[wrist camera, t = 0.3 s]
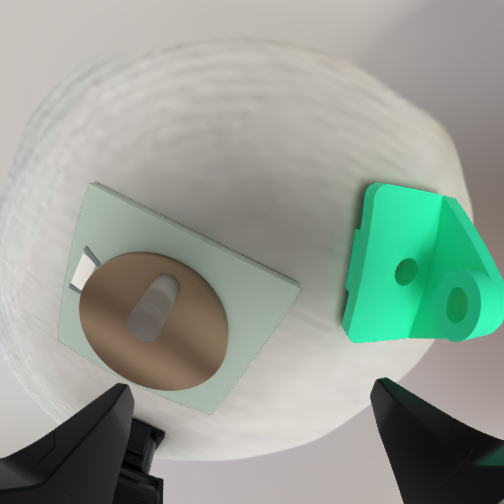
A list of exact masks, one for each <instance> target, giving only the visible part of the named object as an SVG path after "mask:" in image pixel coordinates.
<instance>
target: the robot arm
mask: <svg viewBox="0 0 504 504" xmlns="http://www.w3.org/2000/svg"><path fill="white" fill-rule="evenodd" d="M370 399H371V403H372V407H373V411H374V415H375V419H376V423H377V427H378V431H379V433H380V436H381V439H382V442H383V444H384V447H385V450H386V452H387V455H388V458H389V461H390V464H391V467H392V470H393V472H394V475H395V478H396V481H397V484H398V487H399V490H400V493H401V496H402V499H403V503H404V504H504V440H501V439H498V438H495V437H493V436H490V435H487V434H485V433H483V432H481V431H478V430H476V429H474V428H472V427H470V426H468V425H466V424H464V423H462V422H460V421H458V420H456V419H455V418H452V417H451V416H450V415H448V414H446V413H445V412H443V411H441V410H439V409H437V408H436V407H434V406H432V405H431V404H429V403H427V402H426V401H424V400H423V399H421V398H419V397H418V396H416V395H414V394H413V393H411V392H409V391H408V390H406V389H405V388H403V387H401V386H400V385H398V384H397V383H395V382H393V381H392V380H390V379H389V378H386V377H384V378H380V379H377V380H376V381H375V383H374V386H373V389H372V391H371V394H370ZM133 409H134V398H133V395H132V393H131V390H130V388H129V386H128V385H127V384H121V383H117V384H115V385H114V386H113V387H111V388H110V389H109V390H107V391H106V392H105V393H103V394H102V395H101V396H99V397H98V398H97V399H95V400H94V401H93V402H91V403H90V404H88V405H87V406H86V407H84V408H83V409H82V410H80V411H79V412H77V413H76V414H75V415H73V416H72V417H71V418H69V419H68V420H66V421H65V422H64V423H62V424H61V425H59V426H58V427H57V428H55V429H54V430H52V431H51V432H49V433H48V434H47V435H45V436H44V437H42V438H41V439H39V440H37V441H36V442H34V443H32V444H31V445H29V446H27V447H25V448H23V449H21V450H19V451H17V452H15V453H13V454H11V455H9V456H7V457H4V458H0V504H163V479H161V478H156V477H154V476H151V475H149V471H150V467H151V463H152V459H153V455H154V452H155V450H156V449H157V447H158V446H159V444H160V443H161V441H162V440H163V438H164V437H165V433H164V432H162V431H160V430H157V429H155V428H152V427H150V426H147V425H145V424H143V423H140V422H138V421H136V420H133V419H132V415H133Z"/></svg>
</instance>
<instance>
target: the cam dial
mask: <svg viewBox="0 0 504 504" xmlns="http://www.w3.org/2000/svg"><path fill="white" fill-rule="evenodd" d="M79 316H80V322H81V326H82V329H83V332H84V334H85V337H86V339H87V341H88V342H89V344H90V346H91V347H92V349H93V350H94V352H95V353H96V354H97V356H98V357H99V358H100V359H101V360H102V361H103V362H104V363H105V364H106V365H107V366H108V367H109V368H110V369H112V370H113V371H114V372H115V373H117V374H118V375H120V376H121V377H123V378H125V379H127V380H129V381H131V382H133V383H135V384H137V385H140V386H143V387H146V388H150V389H155V390H162V391H178V390H185V389H189V388H193V387H196V386H198V385H200V384H202V383H204V382H205V381H207V380H208V379H210V378H211V377H212V376H213V375H214V374H215V373H216V372H217V371H218V369H219V368H220V367H221V365H222V363H223V361H224V358H225V355H226V352H227V345H228V321H227V316H226V312H225V309H224V307H223V305H222V303H221V300H220V298H219V297H218V295H217V294H216V292H215V291H214V289H213V288H212V287H211V286H210V285H209V283H208V282H207V281H206V280H205V279H204V278H203V277H202V276H201V275H199V274H198V273H197V272H196V271H194V270H193V269H192V268H190V267H189V266H187V265H185V264H184V263H182V262H180V261H178V260H176V259H173V258H171V257H169V256H165V255H162V254H158V253H152V252H130V253H125V254H122V255H119V256H116V257H114V258H112V259H110V260H109V261H107V262H106V263H104V264H103V265H102V266H101V267H99V268H98V269H97V270H96V271H95V272H94V273H93V274H92V275H91V276H90V277H89V278H88V280H87V281H86V283H85V285H84V287H83V289H82V292H81V296H80V301H79Z"/></svg>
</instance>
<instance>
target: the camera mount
mask: <svg viewBox="0 0 504 504" xmlns="http://www.w3.org/2000/svg"><path fill="white" fill-rule="evenodd" d="M401 261H402V264H401V266H400V268H399V269H398V270H397V271H396V268H397V266H398V265H399V263H400V262H401ZM395 271H396V272H395ZM345 288H346V289H347V290H348V292H349V295H348V300H347V304H346V309H345V313H344V317H343V321H342V327H343V329H344V331H345V332H346V334H347V336H348V338H349V339H350V341H352V342H354V343H362V342H374V341H385V340H395V339H404V338H434V339H437V338H438V339H444V338H445V339H448V340H450V341H453V342H459V341H463V340H467V339H472V338H476V337H480V336H484V335H487V334H490V333H492V332H494V331H495V330H496V329H497V328H498V327H499V326H500V324H501V323H502V321H503V319H504V282H503V280H502V277H501V275H500V273H499V271H498V269H497V267H496V265H495V263H494V261H493V259H492V257H491V255H490V253H489V251H488V250H487V248H486V246H485V244H484V242H483V241H482V239H481V237H480V235H479V234H478V232H477V230H476V229H475V227H474V225H473V224H472V222H471V221H470V219H469V217H468V216H467V214H466V213H465V211H464V210H463V208H462V207H461V205H460V204H459V202H458V201H457V200H456V198H452V197H448V196H443V195H439V194H435V193H430V192H426V191H421V190H416V189H411V188H406V187H401V186H396V185H390V184H384V183H373V184H371V185H370V186H369V187H368V188H367V190H366V192H365V197H364V206H363V214H362V221H361V228H360V229H355V234H354V240H353V247H352V253H351V259H350V264H349V270H348V275H347V281H346V286H345Z"/></svg>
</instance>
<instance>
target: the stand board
mask: <svg viewBox="0 0 504 504" xmlns="http://www.w3.org/2000/svg"><path fill="white" fill-rule="evenodd" d="M130 252H152V253H158V254H162V255H165V256H169V257H171V258H173V259H176V260H178V261H180V262H182V263H184V264H185V265H187V266H189V267H190V268H192V269H193V270H194V271H196V272H197V273H198V274H199V275H201V276H202V277H203V278H204V279H205V280H206V281H207V282H208V283H209V285H210V286H211V287H212V288H213V289H214V291H215V292H216V294H217V295H218V297H219V298H220V300H221V303H222V305H223V307H224V309H225V312H226V316H227V321H228V345H227V352H226V355H225V358H224V361H223V363H222V365H221V367H220V368H219V369H218V371H217V372H216V373H215V374H214V375H213V376H212V377H211V378H210V379H208V380H207V381H205V382H204V383H202V384H200V385H198V386H196V387H193V388H189V389H185V390H178V391H162V390H155V389H150V388H146V387H143V386H140V385H137V384H135V383H133V382H131V381H129V380H127V379H125V378H123V377H121V376H120V375H118V374H117V373H115V372H114V371H113V370H112V369H110V368H109V367H108V366H107V365H106V364H105V363H104V362H103V361H102V360H101V359H100V358H99V357H98V356H97V354H96V353H95V352H94V350H93V349H92V347H91V346H90V344H89V342H88V341H87V339H86V337H85V334H84V332H83V329H82V326H81V322H80V316H79V301H80V296H81V292H82V289H83V287H84V285H85V283H86V281H87V280H88V278H89V277H90V276H91V275H92V274H93V273H94V272H95V271H96V270H97V269H98V268H99V267H101V266H102V265H103V264H104V263H106V262H107V261H109V260H110V259H112V258H114V257H116V256H119V255H122V254H125V253H130ZM300 290H301V287H300V285H299V283H297V282H295V281H293V280H291V279H289V278H287V277H285V276H283V275H281V274H279V273H277V272H274V271H272V270H270V269H268V268H266V267H264V266H262V265H260V264H258V263H256V262H254V261H252V260H250V259H248V258H246V257H244V256H242V255H240V254H238V253H236V252H234V251H232V250H230V249H228V248H226V247H224V246H222V245H220V244H218V243H216V242H214V241H212V240H210V239H208V238H206V237H204V236H202V235H200V234H198V233H196V232H194V231H192V230H190V229H188V228H186V227H184V226H182V225H180V224H178V223H176V222H174V221H172V220H170V219H168V218H166V217H164V216H162V215H160V214H158V213H156V212H154V211H152V210H150V209H148V208H146V207H144V206H142V205H140V204H138V203H136V202H134V201H132V200H130V199H128V198H126V197H124V196H122V195H120V194H118V193H116V192H114V191H112V190H110V189H108V188H106V187H104V186H102V185H101V184H99V183H97V182H95V183H90V184H89V187H88V190H87V193H86V196H85V199H84V202H83V206H82V209H81V212H80V216H79V219H78V223H77V227H76V230H75V234H74V238H73V243H72V247H71V251H70V256H69V261H68V266H67V271H66V276H65V282H64V288H63V295H62V302H61V310H60V319H59V330H58V341H59V342H61V343H62V344H64V345H65V346H67V347H68V348H70V349H71V350H73V351H74V352H76V353H78V354H79V355H81V356H83V357H84V358H86V359H88V360H89V361H91V362H93V363H94V364H96V365H98V366H100V367H102V368H103V369H105V370H107V371H109V372H111V373H113V374H115V375H116V376H118V377H120V378H122V379H124V380H126V381H128V382H130V383H132V384H134V385H137V386H139V387H141V388H143V389H145V390H147V391H150V392H152V393H154V394H156V395H159V396H161V397H163V398H166V399H168V400H171V401H173V402H176V403H178V404H181V405H184V406H186V407H189V408H192V409H194V410H197V411H200V412H203V413H206V414H209V415H212V414H213V413H214V411H215V410H216V409H217V408H218V406H219V405H220V404H221V402H222V401H223V400H224V399H225V397H226V396H227V395H228V393H229V392H230V391H231V389H232V388H233V387H234V385H235V384H236V383H237V381H238V380H239V379H240V377H241V376H242V375H243V373H244V372H245V371H246V369H247V368H248V366H249V365H250V364H251V362H252V361H253V360H254V358H255V357H256V355H257V354H258V353H259V351H260V350H261V348H262V347H263V345H264V344H265V343H266V341H267V340H268V338H269V337H270V335H271V334H272V333H273V331H274V330H275V328H276V327H277V325H278V324H279V322H280V321H281V319H282V318H283V316H284V315H285V313H286V312H287V310H288V309H289V307H290V306H291V304H292V303H293V301H294V300H295V298H296V297H297V295H298V293H299V292H300Z"/></svg>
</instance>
